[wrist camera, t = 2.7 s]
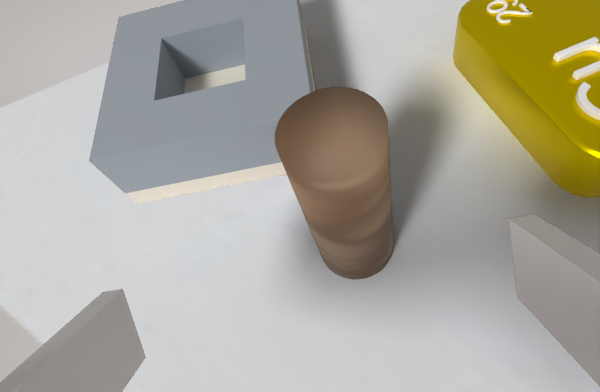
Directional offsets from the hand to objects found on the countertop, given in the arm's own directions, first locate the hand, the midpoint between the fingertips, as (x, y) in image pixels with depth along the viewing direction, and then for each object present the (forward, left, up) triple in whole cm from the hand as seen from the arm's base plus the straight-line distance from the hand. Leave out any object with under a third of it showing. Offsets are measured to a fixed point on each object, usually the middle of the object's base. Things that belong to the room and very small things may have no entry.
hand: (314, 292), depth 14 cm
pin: (-1, -6, -10) cm, 12 cm away
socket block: (+7, -19, -10) cm, 23 cm away
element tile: (-19, -15, -11) cm, 27 cm away
